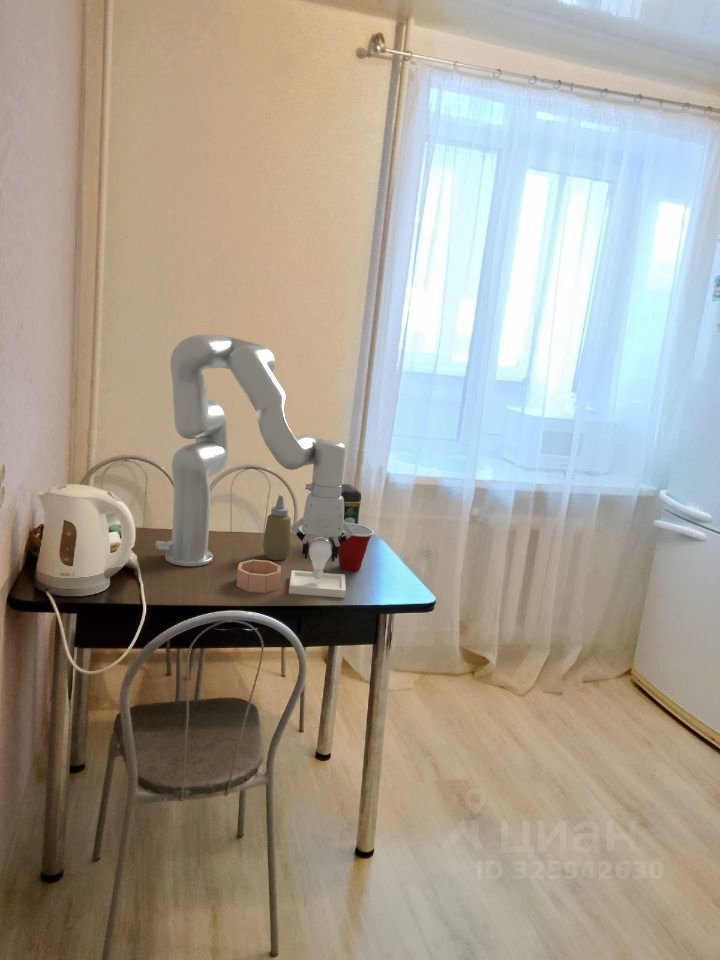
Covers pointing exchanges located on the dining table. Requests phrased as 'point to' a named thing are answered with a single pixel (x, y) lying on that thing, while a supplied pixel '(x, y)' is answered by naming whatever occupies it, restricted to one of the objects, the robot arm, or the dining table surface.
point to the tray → (317, 584)
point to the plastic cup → (354, 547)
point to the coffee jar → (350, 505)
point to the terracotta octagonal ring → (258, 576)
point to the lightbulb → (319, 555)
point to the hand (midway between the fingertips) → (319, 557)
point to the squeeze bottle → (277, 532)
